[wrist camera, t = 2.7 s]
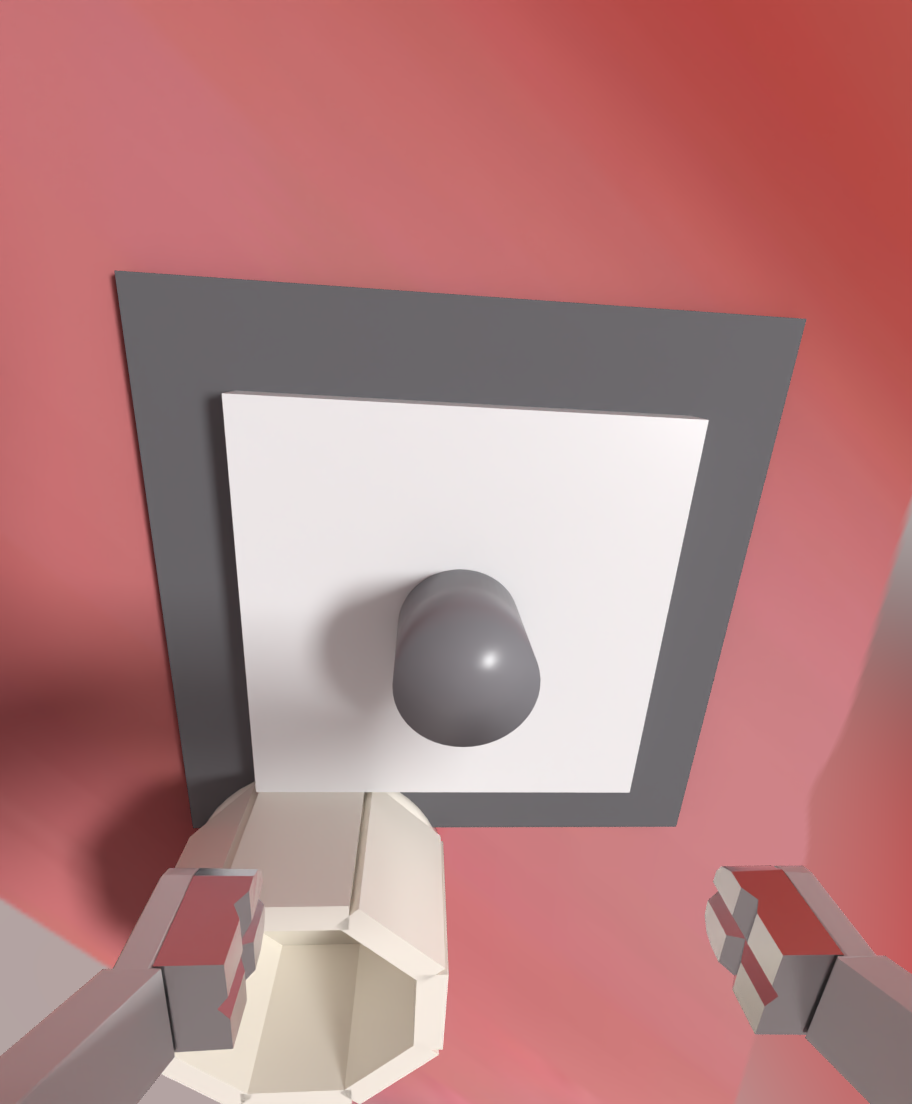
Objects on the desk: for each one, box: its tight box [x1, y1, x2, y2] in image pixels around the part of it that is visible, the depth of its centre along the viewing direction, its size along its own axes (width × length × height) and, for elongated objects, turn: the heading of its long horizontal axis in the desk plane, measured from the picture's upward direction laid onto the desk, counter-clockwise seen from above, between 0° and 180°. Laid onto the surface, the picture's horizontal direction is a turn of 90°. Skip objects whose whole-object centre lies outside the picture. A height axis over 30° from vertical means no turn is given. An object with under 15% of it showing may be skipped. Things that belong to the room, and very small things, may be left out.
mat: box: [115, 271, 806, 828], centre depth 19 cm, size 20×20×1 cm
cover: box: [222, 391, 709, 793], centre depth 17 cm, size 14×14×5 cm
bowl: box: [161, 782, 449, 1104], centre depth 20 cm, size 10×10×6 cm
